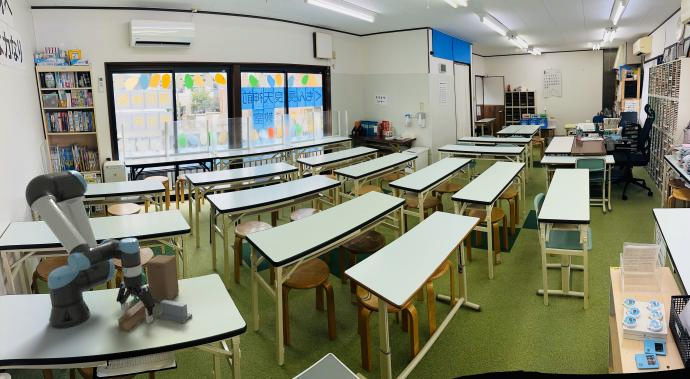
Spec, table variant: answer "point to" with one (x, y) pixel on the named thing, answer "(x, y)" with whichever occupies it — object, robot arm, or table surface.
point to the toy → (142, 283)
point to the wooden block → (162, 277)
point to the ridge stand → (174, 311)
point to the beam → (132, 317)
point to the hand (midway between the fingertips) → (138, 319)
